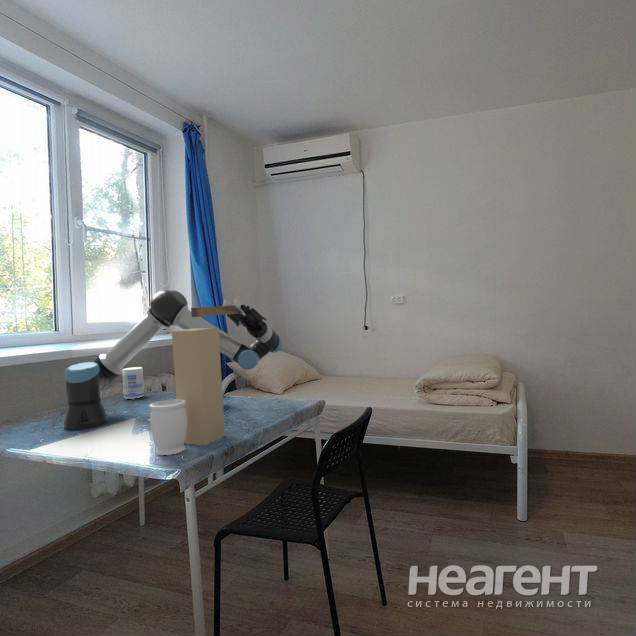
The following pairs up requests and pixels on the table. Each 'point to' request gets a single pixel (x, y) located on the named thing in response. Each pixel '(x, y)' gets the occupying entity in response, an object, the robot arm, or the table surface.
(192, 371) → the carton
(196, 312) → the brown rectangular bar
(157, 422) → the jar
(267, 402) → the table surface
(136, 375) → the supplement tub
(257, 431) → the table surface
